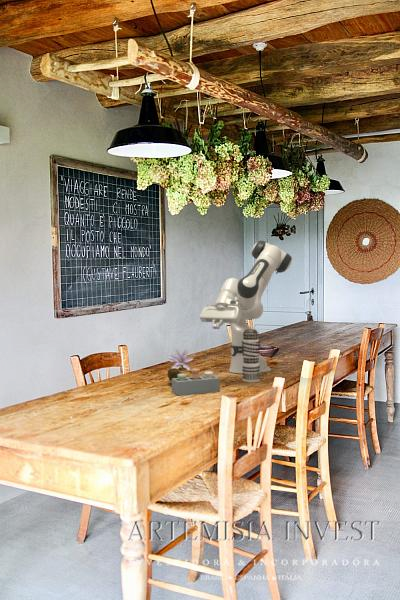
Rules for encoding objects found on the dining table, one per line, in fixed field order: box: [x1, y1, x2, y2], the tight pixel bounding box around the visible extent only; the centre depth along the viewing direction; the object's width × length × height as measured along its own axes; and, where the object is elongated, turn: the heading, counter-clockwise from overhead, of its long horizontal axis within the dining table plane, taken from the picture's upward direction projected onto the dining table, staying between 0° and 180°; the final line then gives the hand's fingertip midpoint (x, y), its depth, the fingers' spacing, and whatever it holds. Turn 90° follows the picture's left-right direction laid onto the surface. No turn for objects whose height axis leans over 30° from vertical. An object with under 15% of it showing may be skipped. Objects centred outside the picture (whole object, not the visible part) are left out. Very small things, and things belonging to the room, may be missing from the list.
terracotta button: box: [190, 367, 201, 380], centre depth 279 cm, size 4×4×7 cm
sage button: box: [178, 373, 188, 381], centre depth 277 cm, size 4×4×7 cm
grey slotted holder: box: [171, 374, 221, 396], centre depth 280 cm, size 20×9×6 cm, turn 111°
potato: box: [167, 367, 183, 382], centre depth 298 cm, size 8×13×8 cm, turn 147°
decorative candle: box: [242, 328, 261, 383], centre depth 303 cm, size 9×9×25 cm
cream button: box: [203, 370, 214, 379], centre depth 282 cm, size 4×4×7 cm
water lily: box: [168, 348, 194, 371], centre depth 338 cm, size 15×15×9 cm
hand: (215, 328), depth 290 cm, fingers closed
